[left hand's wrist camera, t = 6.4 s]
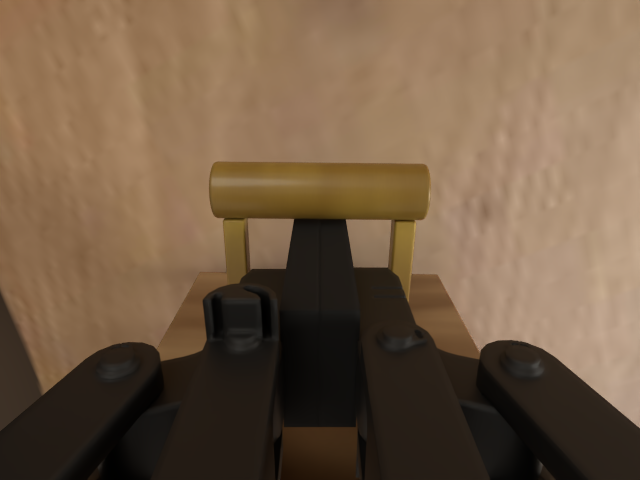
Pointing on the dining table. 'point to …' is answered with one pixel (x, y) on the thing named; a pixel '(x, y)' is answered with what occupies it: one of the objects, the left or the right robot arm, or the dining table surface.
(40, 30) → the dining table surface
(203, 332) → the drawer
